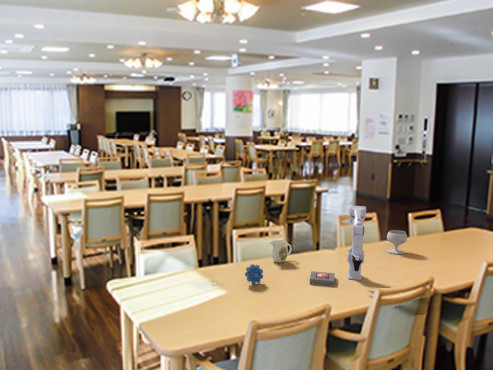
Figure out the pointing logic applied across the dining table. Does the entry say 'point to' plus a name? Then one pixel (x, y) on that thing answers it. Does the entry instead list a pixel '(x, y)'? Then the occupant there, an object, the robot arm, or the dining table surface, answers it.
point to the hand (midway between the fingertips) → (356, 268)
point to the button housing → (322, 279)
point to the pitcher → (280, 250)
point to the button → (322, 275)
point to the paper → (213, 285)
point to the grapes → (254, 274)
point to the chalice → (396, 240)
